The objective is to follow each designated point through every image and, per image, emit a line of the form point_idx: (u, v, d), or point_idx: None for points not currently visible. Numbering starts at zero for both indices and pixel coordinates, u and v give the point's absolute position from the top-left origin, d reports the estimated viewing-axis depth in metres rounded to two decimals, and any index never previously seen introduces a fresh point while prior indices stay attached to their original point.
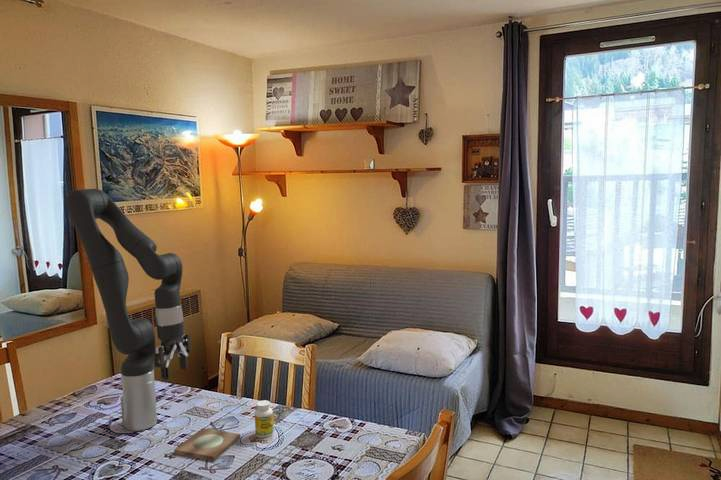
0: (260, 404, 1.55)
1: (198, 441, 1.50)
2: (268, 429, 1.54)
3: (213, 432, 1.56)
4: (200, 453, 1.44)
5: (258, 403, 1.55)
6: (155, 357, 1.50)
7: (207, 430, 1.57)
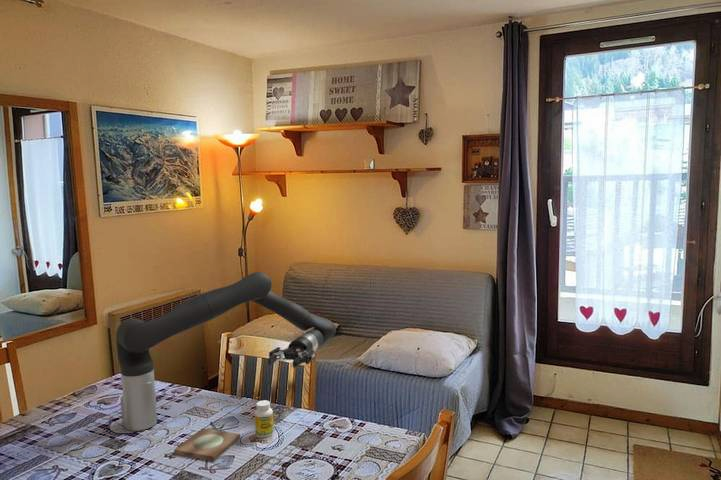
0: (260, 404, 1.55)
1: (198, 441, 1.50)
2: (268, 429, 1.54)
3: (213, 432, 1.56)
4: (200, 453, 1.44)
5: (258, 403, 1.55)
6: (311, 355, 1.71)
7: (207, 430, 1.57)
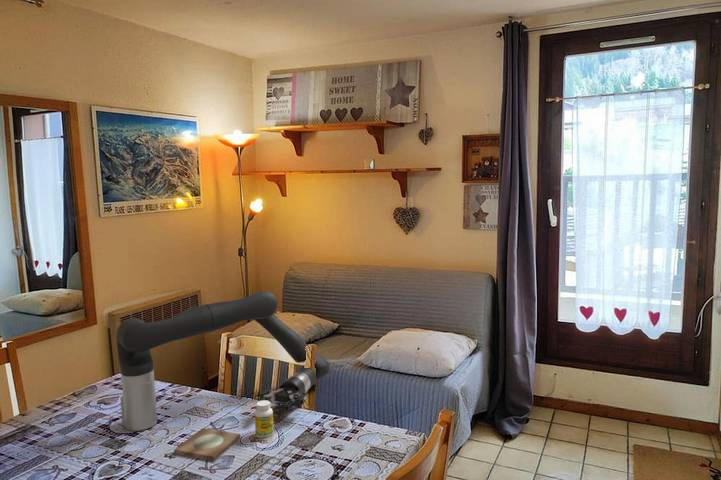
0: (260, 404, 1.55)
1: (198, 441, 1.50)
2: (268, 429, 1.54)
3: (213, 432, 1.56)
4: (200, 453, 1.44)
5: (258, 403, 1.55)
6: (303, 398, 1.66)
7: (207, 430, 1.57)
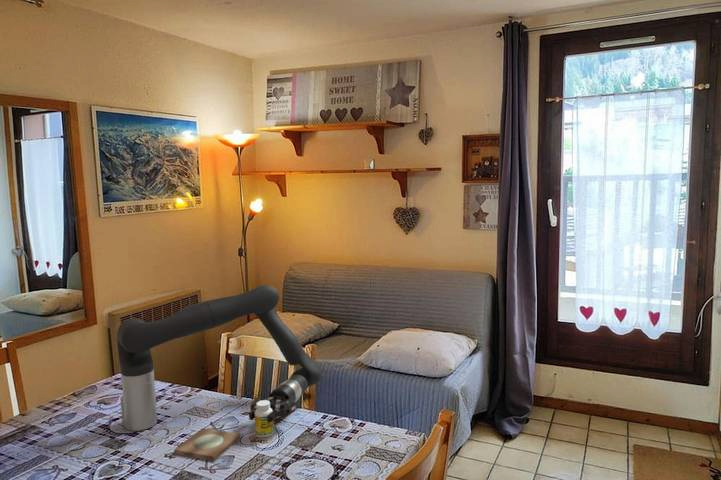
0: (260, 404, 1.55)
1: (198, 441, 1.50)
2: (268, 429, 1.54)
3: (213, 432, 1.56)
4: (200, 453, 1.44)
5: (258, 403, 1.55)
6: (290, 408, 1.58)
7: (207, 430, 1.57)
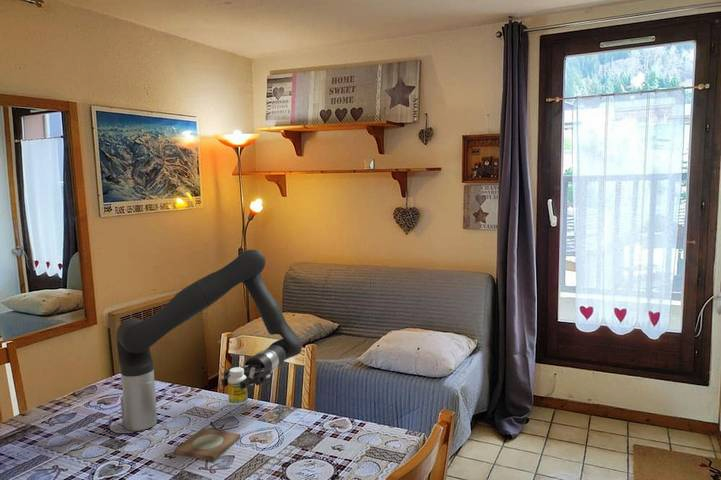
0: (233, 370, 1.50)
1: (198, 441, 1.50)
2: (241, 396, 1.50)
3: (213, 432, 1.56)
4: (200, 453, 1.44)
5: (231, 370, 1.51)
6: (264, 375, 1.54)
7: (207, 430, 1.57)
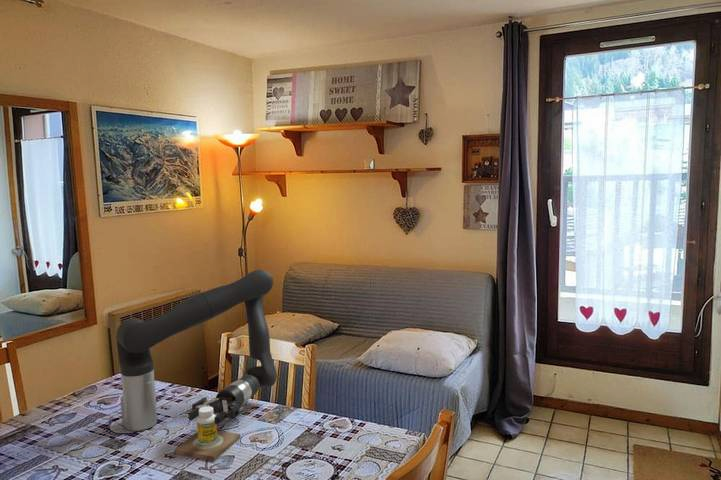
0: (202, 410, 1.48)
1: None
2: (210, 437, 1.48)
3: None
4: (200, 453, 1.44)
5: (200, 409, 1.49)
6: (238, 408, 1.52)
7: None
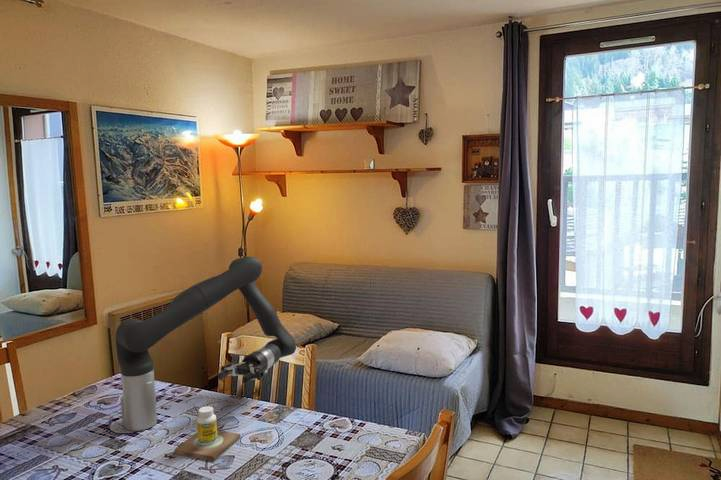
0: (202, 410, 1.48)
1: None
2: (210, 437, 1.48)
3: None
4: (200, 453, 1.44)
5: (200, 409, 1.49)
6: (263, 371, 1.66)
7: None
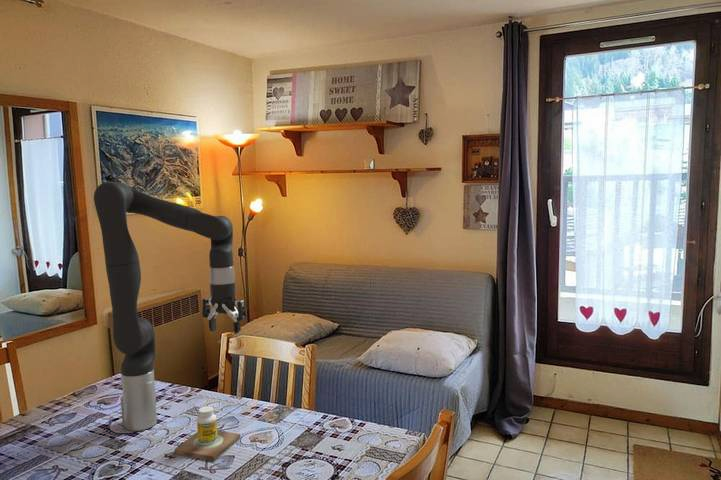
0: (202, 410, 1.48)
1: None
2: (210, 437, 1.48)
3: None
4: (200, 453, 1.44)
5: (201, 409, 1.49)
6: (242, 310, 1.60)
7: None
